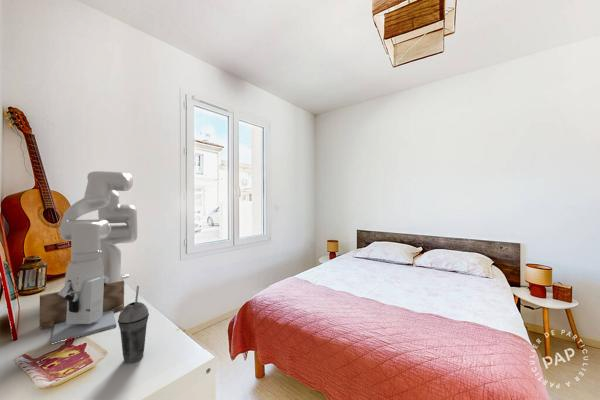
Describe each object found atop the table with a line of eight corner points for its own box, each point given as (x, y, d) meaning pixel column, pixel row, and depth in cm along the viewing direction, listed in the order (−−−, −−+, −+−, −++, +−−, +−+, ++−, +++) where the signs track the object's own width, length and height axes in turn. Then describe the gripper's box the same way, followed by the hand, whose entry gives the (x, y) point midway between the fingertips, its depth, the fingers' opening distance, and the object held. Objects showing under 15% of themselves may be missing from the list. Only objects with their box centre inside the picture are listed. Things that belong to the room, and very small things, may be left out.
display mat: (112, 312, 95) (112, 310, 95) (116, 326, 85) (116, 323, 85) (55, 327, 84) (55, 324, 84) (51, 344, 74) (51, 341, 74)
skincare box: (65, 324, 82) (65, 281, 81) (81, 316, 88) (81, 275, 87) (91, 324, 82) (90, 280, 82) (104, 315, 88) (104, 275, 88)
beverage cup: (111, 363, 65) (111, 290, 65) (137, 348, 72) (137, 281, 72) (129, 370, 63) (129, 293, 63) (155, 353, 70) (155, 284, 70)
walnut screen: (122, 304, 103) (122, 278, 103) (124, 308, 98) (124, 282, 98) (40, 323, 87) (40, 293, 87) (38, 330, 82) (38, 298, 82)
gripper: (102, 251, 94) (102, 296, 94) (47, 262, 77) (47, 318, 77) (118, 251, 92) (118, 298, 92) (65, 263, 75) (65, 320, 75)
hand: (86, 306), depth 85 cm, fingers closed on skincare box, 6 cm apart
